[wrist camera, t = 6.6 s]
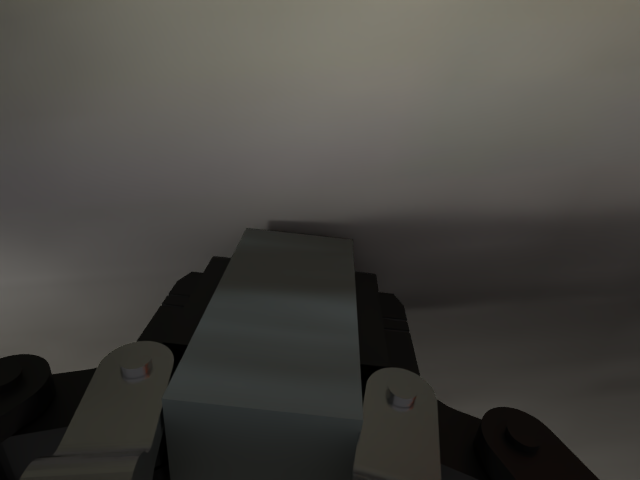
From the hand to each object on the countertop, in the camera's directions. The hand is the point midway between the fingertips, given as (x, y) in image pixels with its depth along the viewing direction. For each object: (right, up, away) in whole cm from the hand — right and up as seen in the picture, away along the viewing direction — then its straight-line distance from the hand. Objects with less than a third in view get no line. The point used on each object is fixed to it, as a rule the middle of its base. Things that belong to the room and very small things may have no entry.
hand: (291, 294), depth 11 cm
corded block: (0, -5, +3) cm, 6 cm away
